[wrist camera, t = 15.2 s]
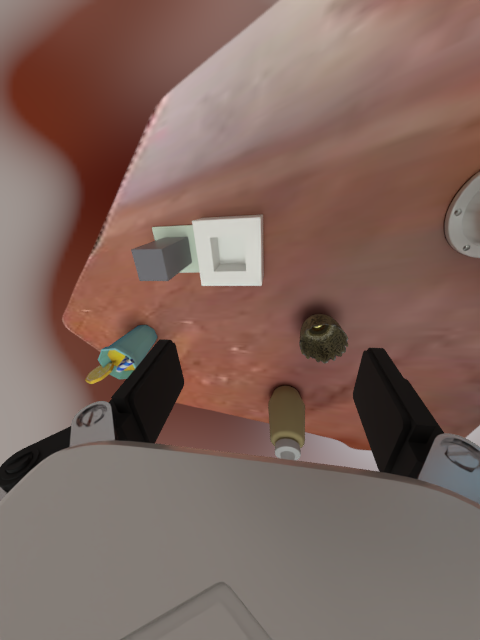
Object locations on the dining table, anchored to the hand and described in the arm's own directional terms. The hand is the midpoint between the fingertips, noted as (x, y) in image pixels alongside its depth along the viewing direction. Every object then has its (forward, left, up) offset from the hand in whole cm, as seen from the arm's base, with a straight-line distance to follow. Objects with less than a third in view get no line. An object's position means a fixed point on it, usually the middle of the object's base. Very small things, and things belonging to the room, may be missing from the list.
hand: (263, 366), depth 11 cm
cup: (+28, +18, -31) cm, 45 cm away
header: (+7, 0, -30) cm, 31 cm away
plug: (+17, 0, -30) cm, 34 cm away
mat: (+17, 0, -30) cm, 35 cm away
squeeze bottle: (-3, +34, -31) cm, 46 cm away
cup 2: (-8, +14, -31) cm, 34 cm away
